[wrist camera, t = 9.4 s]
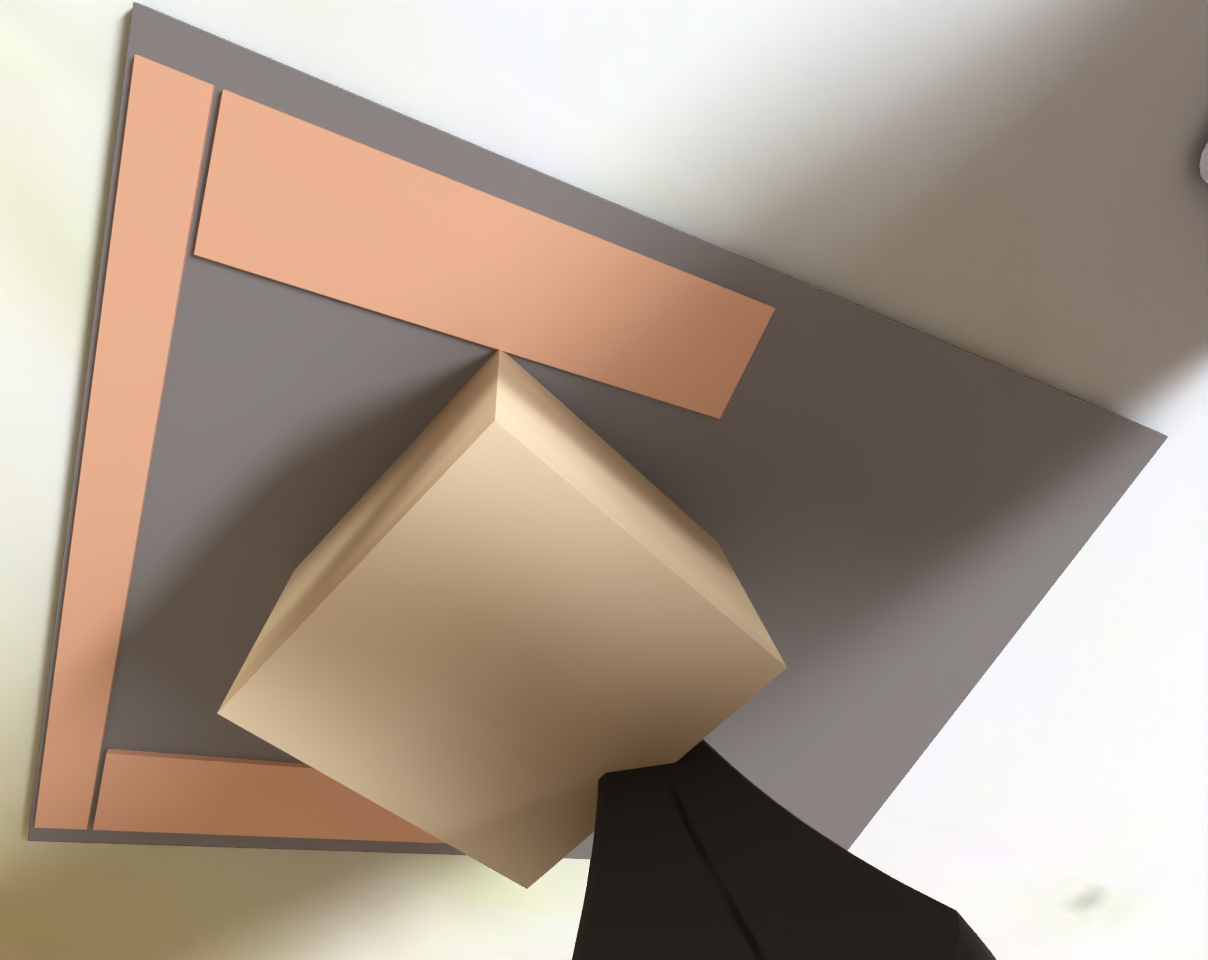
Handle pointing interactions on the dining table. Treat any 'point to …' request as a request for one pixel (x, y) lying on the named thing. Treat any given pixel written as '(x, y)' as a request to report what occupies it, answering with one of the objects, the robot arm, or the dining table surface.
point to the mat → (431, 380)
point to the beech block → (503, 631)
